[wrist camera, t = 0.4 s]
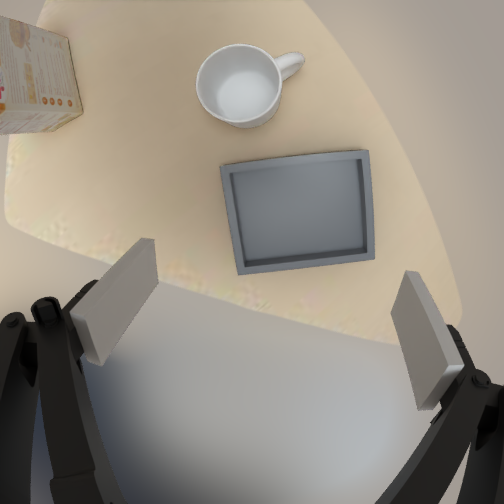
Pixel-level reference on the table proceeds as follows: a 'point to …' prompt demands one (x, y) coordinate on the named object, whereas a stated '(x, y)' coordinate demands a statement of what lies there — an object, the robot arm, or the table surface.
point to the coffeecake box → (35, 80)
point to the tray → (300, 211)
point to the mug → (244, 83)
